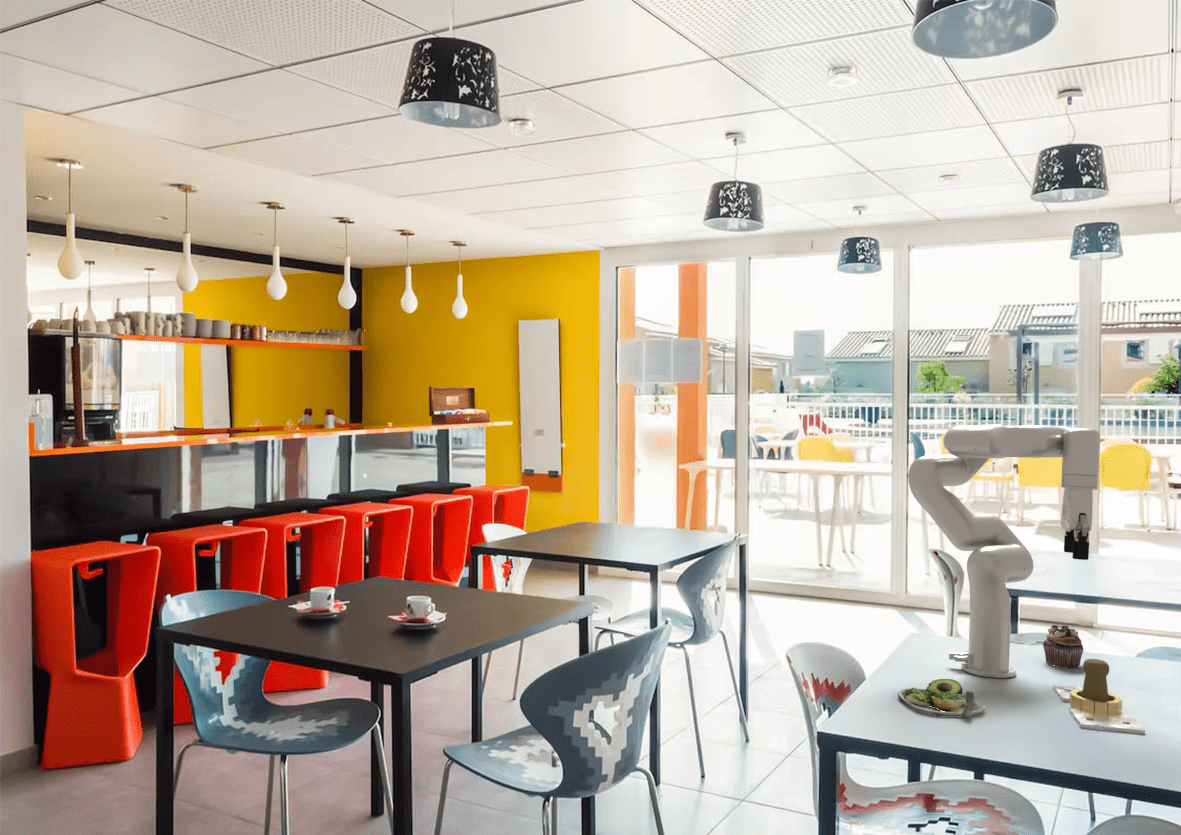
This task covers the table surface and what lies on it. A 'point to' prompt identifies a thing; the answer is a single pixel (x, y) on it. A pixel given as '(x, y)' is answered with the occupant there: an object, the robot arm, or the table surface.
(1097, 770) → the table surface
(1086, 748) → the table surface
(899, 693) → the avocado toast plate
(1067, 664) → the cupcake
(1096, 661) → the cork
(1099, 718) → the mounting plate with ring
